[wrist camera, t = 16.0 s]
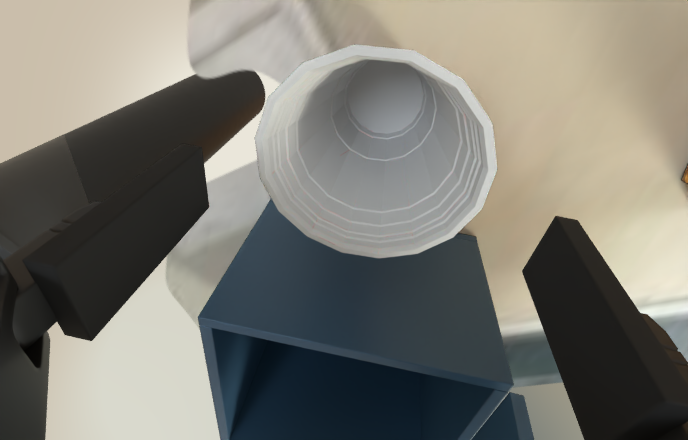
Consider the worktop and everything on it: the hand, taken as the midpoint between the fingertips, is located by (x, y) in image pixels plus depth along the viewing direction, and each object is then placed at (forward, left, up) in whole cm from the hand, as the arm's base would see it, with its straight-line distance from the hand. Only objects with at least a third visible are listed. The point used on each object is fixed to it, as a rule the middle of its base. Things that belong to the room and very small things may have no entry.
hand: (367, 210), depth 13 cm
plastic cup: (0, 0, -15) cm, 15 cm away
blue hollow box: (+1, -19, -15) cm, 24 cm away
